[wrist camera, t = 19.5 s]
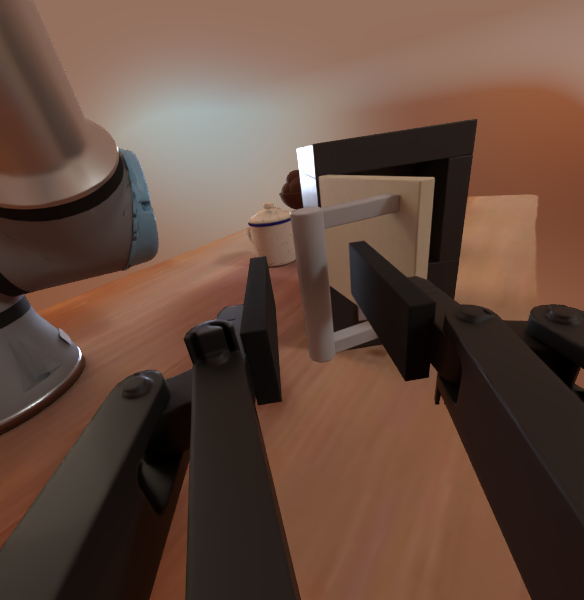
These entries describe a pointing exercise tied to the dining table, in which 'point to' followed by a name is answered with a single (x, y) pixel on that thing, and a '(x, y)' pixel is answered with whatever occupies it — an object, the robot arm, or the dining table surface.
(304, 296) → the chamber door
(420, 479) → the dining table surface
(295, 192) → the ice cream bowl
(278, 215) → the teacup with lid
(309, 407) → the dining table surface
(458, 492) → the dining table surface
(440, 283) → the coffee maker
